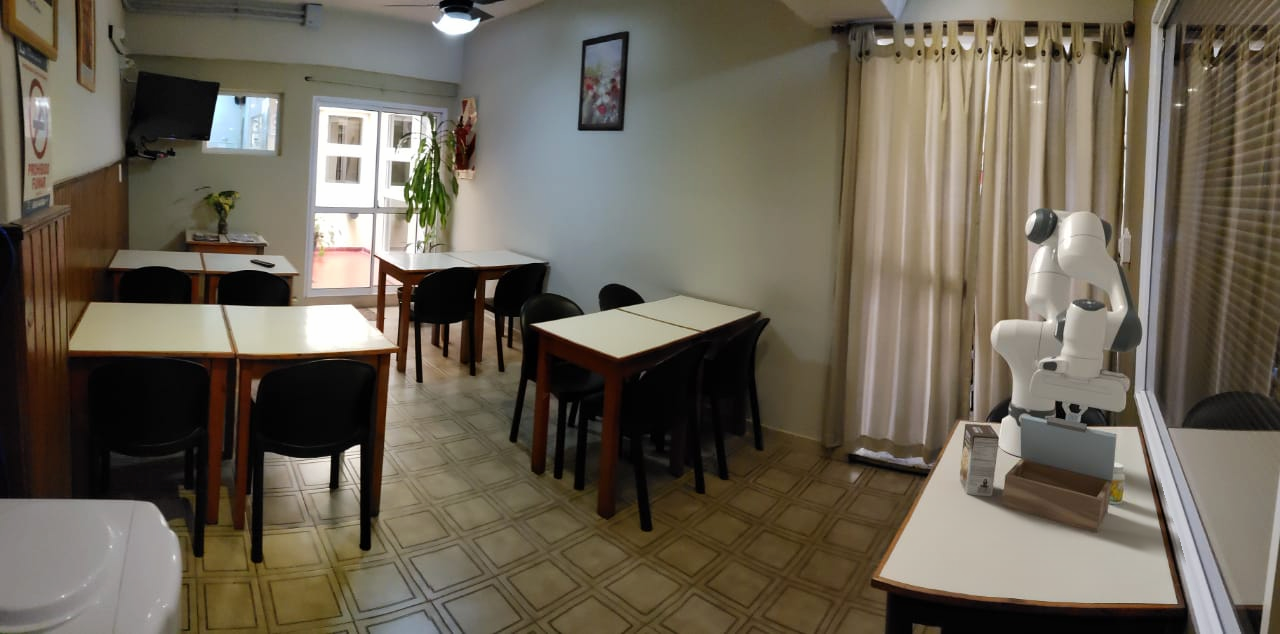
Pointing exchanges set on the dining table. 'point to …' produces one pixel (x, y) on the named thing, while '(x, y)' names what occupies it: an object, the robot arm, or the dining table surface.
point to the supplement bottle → (1117, 484)
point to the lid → (1068, 446)
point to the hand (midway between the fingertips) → (1072, 420)
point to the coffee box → (978, 459)
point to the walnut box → (1057, 494)
